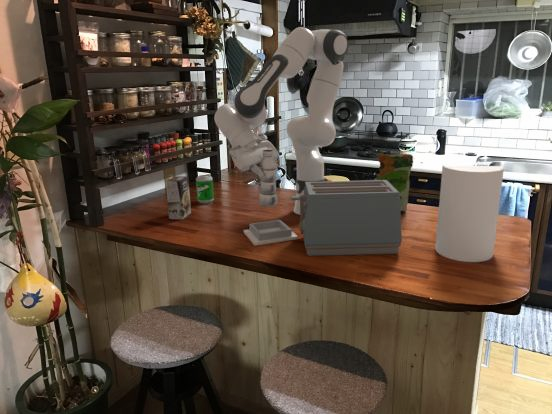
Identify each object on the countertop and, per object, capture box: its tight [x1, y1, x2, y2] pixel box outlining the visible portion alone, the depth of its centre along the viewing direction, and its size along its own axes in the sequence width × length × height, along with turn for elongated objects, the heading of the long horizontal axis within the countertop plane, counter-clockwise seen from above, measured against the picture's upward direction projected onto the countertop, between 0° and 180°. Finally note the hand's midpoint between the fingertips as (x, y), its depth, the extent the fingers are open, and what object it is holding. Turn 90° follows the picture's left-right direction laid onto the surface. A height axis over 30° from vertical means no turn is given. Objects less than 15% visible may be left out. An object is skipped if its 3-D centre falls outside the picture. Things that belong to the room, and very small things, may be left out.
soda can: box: [195, 174, 215, 204], centre depth 208 cm, size 8×8×12 cm
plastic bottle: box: [258, 150, 279, 208], centre depth 159 cm, size 6×7×20 cm
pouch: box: [376, 152, 414, 213], centre depth 184 cm, size 11×12×25 cm
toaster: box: [290, 179, 403, 257], centre depth 152 cm, size 19×35×20 cm, turn 90°
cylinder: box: [435, 165, 505, 263], centre depth 143 cm, size 17×17×28 cm
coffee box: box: [165, 175, 192, 221], centre depth 187 cm, size 9×6×16 cm
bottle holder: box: [243, 219, 299, 246], centre depth 164 cm, size 16×14×4 cm
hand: (269, 174), depth 158 cm, fingers closed on plastic bottle, 6 cm apart
